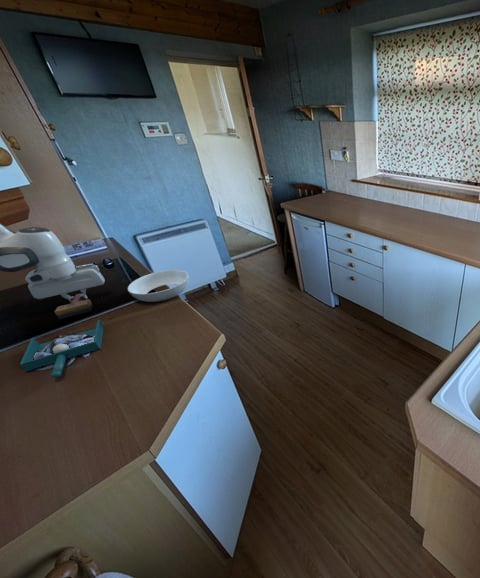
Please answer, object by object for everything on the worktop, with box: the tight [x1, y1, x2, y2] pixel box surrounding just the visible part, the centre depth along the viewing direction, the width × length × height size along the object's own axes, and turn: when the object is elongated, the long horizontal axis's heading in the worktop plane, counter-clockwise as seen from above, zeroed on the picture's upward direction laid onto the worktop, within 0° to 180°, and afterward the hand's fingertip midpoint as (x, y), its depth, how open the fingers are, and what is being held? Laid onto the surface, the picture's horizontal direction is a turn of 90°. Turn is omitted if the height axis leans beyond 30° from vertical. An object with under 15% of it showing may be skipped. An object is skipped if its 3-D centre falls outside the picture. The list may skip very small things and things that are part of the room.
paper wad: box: [53, 344, 70, 353], centre depth 93 cm, size 4×4×4 cm
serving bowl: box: [127, 269, 190, 303], centre depth 123 cm, size 21×21×7 cm
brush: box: [54, 292, 94, 320], centre depth 114 cm, size 15×9×4 cm, turn 36°
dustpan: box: [19, 319, 105, 379], centre depth 92 cm, size 24×17×3 cm
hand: (79, 300), depth 117 cm, fingers closed on brush, 2 cm apart
